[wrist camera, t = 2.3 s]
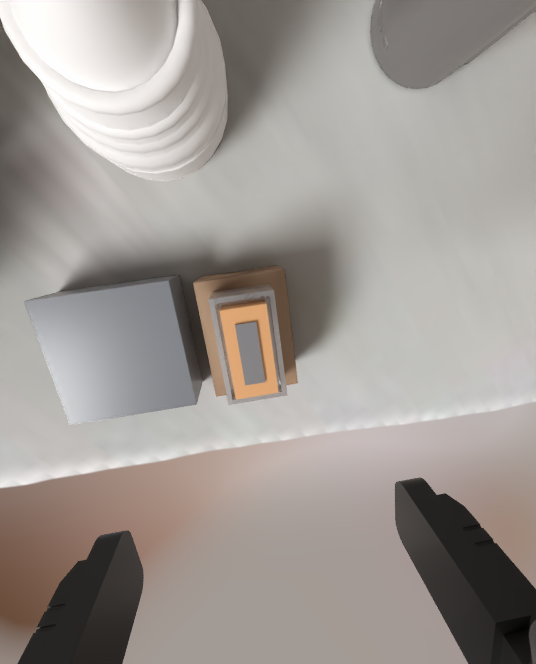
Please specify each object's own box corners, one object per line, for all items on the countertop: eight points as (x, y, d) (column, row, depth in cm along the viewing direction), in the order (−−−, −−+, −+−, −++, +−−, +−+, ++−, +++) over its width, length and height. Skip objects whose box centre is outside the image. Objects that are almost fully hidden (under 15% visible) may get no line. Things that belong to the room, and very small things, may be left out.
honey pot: (256, 127, 28) (283, -60, 11) (143, 209, 29) (2, 160, 12) (165, -31, 24) (-17, -707, 7) (40, 69, 25) (-386, -302, 8)
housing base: (269, 283, 27) (273, 290, 23) (281, 376, 29) (287, 395, 26) (212, 291, 27) (208, 299, 23) (229, 384, 29) (228, 404, 26)
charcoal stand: (179, 274, 31) (168, 280, 26) (202, 381, 34) (196, 404, 29) (57, 292, 30) (23, 301, 25) (93, 399, 34) (69, 425, 29)
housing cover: (264, 299, 24) (266, 304, 22) (276, 383, 26) (278, 393, 25) (220, 306, 24) (219, 311, 22) (235, 390, 26) (235, 400, 24)
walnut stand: (277, 265, 31) (284, 269, 27) (289, 363, 35) (297, 383, 30) (200, 276, 31) (193, 282, 26) (219, 375, 34) (216, 396, 29)
